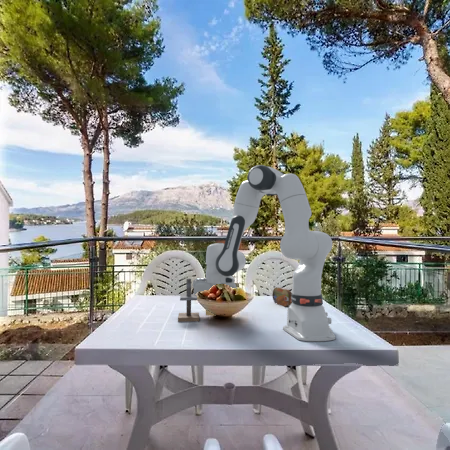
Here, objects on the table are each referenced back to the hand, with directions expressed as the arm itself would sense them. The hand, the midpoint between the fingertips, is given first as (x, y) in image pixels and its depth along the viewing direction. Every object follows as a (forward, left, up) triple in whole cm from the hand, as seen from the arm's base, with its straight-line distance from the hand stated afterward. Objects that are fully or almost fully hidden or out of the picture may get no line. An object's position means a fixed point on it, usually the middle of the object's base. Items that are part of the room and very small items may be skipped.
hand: (215, 308), depth 175 cm
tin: (+17, -35, -3) cm, 39 cm away
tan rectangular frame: (-4, 0, 0) cm, 4 cm away
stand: (-7, +12, -3) cm, 14 cm away
